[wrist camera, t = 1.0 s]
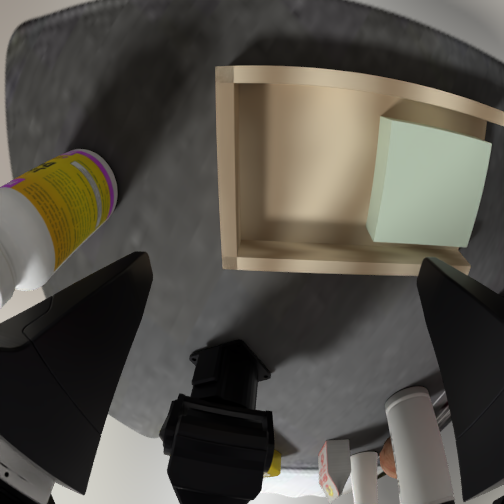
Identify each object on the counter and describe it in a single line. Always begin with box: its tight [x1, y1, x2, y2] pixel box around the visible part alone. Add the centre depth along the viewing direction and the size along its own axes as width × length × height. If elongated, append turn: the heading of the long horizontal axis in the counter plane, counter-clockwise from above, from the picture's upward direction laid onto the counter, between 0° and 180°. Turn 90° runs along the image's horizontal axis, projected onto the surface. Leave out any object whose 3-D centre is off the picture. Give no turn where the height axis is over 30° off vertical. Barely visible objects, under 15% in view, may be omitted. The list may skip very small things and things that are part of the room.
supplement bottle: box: [0, 149, 118, 309], centre depth 16 cm, size 7×7×13 cm
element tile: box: [263, 449, 281, 477], centre depth 42 cm, size 15×15×5 cm
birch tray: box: [215, 66, 504, 276], centre depth 18 cm, size 19×13×3 cm
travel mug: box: [385, 386, 455, 504], centre depth 25 cm, size 6×7×20 cm
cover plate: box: [366, 116, 492, 247], centre depth 18 cm, size 8×8×2 cm
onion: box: [379, 436, 397, 479], centre depth 35 cm, size 10×9×10 cm
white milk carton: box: [318, 439, 351, 503], centre depth 37 cm, size 4×7×10 cm, turn 179°
